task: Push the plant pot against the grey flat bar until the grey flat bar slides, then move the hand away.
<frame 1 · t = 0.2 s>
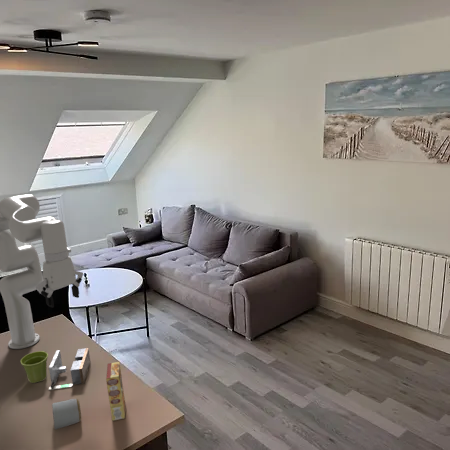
hand: (63, 301, 147), 31 cm above the table, tool pointing down, fingers open, 9 cm apart
plant pot: (38, 378, 156), on the table
grey slotted box: (71, 374, 158), on the table
grey flat bar: (59, 368, 155), point 4 cm above the table, slide at 0.0 cm
candy box: (118, 411, 135), on the table
ceramic mug: (67, 421, 132), on the table
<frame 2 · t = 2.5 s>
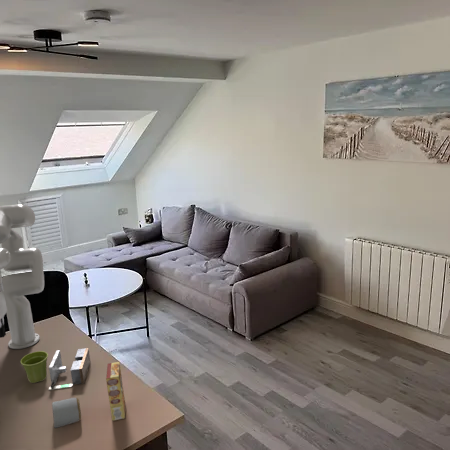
hand: (0, 336, 150), 19 cm above the table, tool pointing down, fingers closed
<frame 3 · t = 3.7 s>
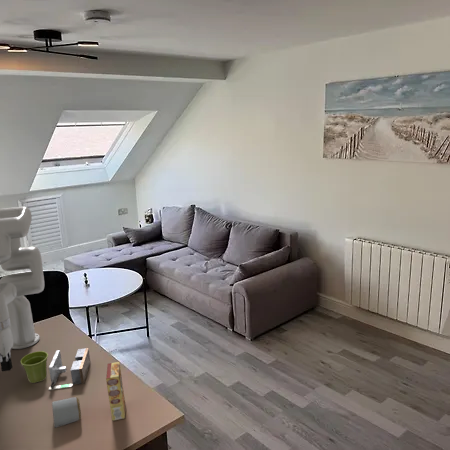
hand: (7, 369, 153), 5 cm above the table, tool pointing down, fingers closed
nothing on the table moved.
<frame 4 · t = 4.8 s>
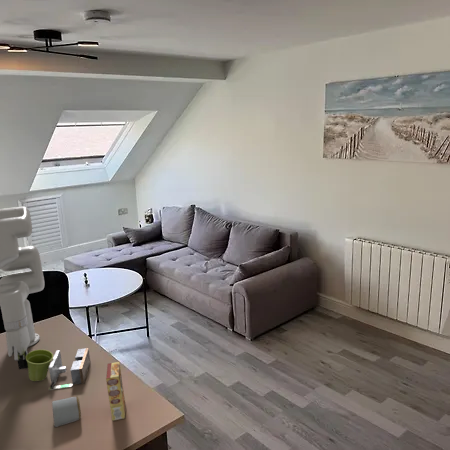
hand: (24, 367, 154), 5 cm above the table, tool pointing down, fingers closed
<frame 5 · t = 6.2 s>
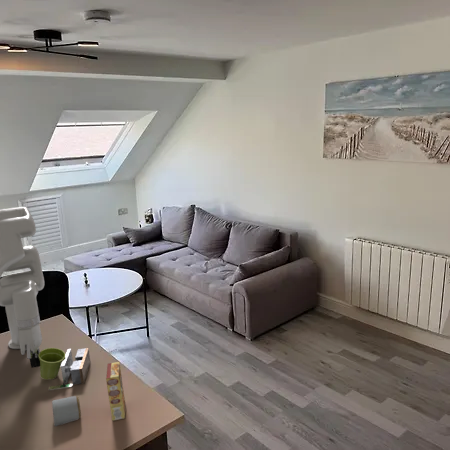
hand: (36, 366, 155), 5 cm above the table, tool pointing down, fingers closed
plant pot: (49, 375, 156), point 1 cm above the table, touching gripper, grey flat bar
grey flat bar: (70, 366, 156), point 4 cm above the table, slide at 4.1 cm, touching plant pot
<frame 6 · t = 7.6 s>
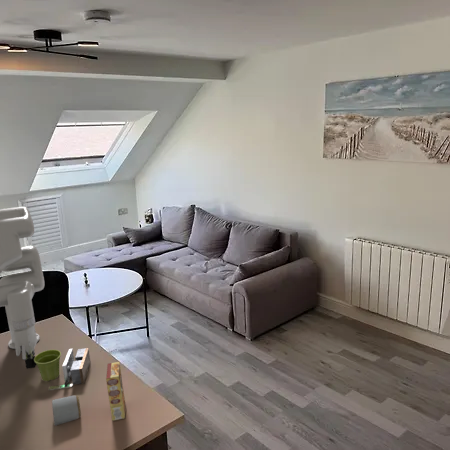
hand: (31, 366, 155), 5 cm above the table, tool pointing down, fingers closed
plant pot: (51, 377, 157), on the table, touching gripper
grey flat bar: (72, 366, 156), point 4 cm above the table, slide at 4.7 cm
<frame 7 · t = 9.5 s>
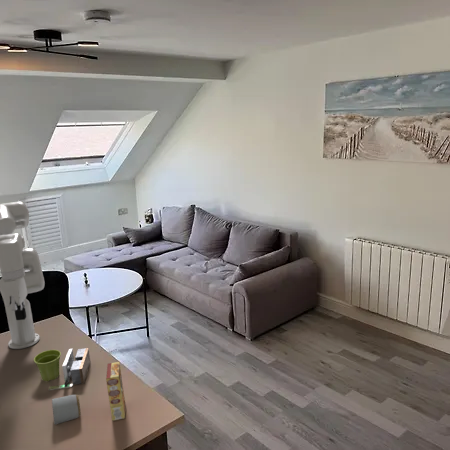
hand: (21, 318, 155), 23 cm above the table, tool pointing down, fingers closed
plant pot: (51, 377, 157), on the table
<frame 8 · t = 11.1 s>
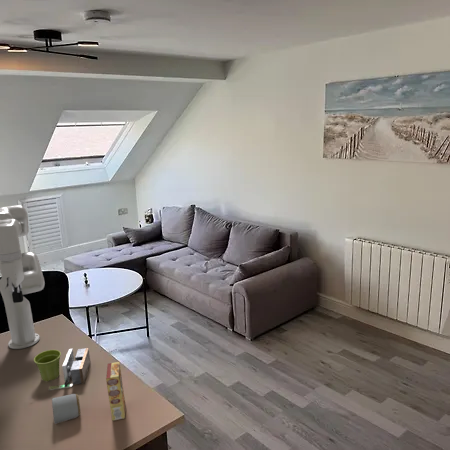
hand: (18, 301, 159), 27 cm above the table, tool pointing down, fingers closed
at the end: grey flat bar slide at 4.7 cm; plant pot tilted 0°; plant pot moved 4.7 cm from its start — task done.
